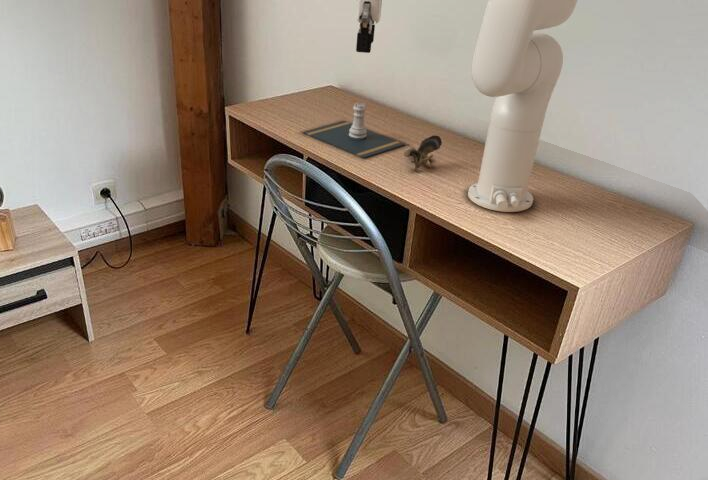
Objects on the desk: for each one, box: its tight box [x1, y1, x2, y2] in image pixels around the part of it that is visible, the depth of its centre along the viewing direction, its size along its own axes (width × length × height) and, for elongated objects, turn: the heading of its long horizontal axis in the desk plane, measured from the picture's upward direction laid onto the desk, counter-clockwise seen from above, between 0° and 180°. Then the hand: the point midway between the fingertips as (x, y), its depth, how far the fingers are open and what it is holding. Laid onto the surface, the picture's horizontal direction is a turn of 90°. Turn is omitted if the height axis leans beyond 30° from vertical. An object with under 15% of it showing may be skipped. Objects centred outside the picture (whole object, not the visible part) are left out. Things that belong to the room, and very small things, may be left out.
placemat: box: [302, 120, 406, 159], centre depth 155 cm, size 21×14×1 cm, turn 41°
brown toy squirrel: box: [403, 134, 443, 172], centre depth 141 cm, size 8×7×9 cm
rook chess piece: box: [349, 102, 368, 139], centre depth 154 cm, size 4×4×8 cm
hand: (364, 47), depth 146 cm, fingers open, 9 cm apart
